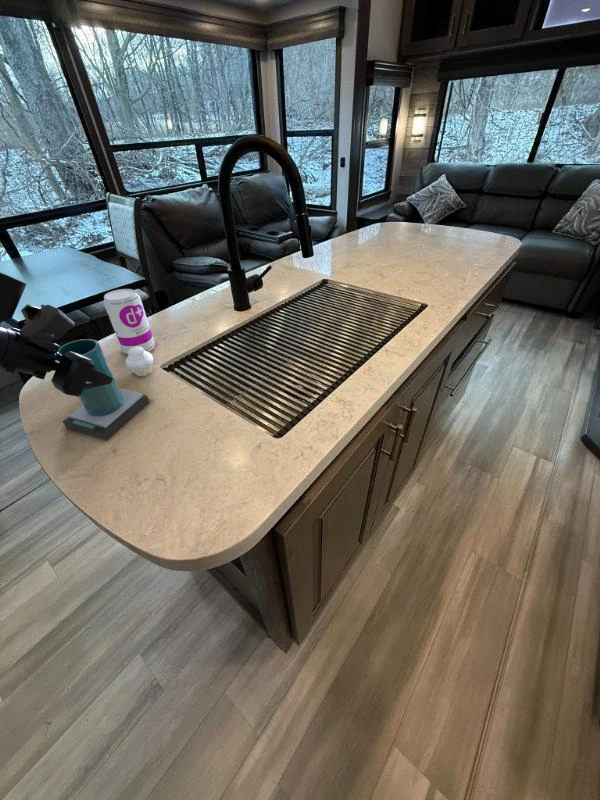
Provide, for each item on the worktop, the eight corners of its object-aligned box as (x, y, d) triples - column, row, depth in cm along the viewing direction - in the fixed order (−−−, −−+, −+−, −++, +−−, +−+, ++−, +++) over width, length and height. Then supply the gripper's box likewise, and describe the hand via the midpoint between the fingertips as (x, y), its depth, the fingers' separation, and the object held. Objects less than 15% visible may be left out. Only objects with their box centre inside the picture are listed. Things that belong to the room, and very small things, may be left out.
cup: (115, 415, 63) (87, 357, 55) (80, 417, 63) (47, 358, 55) (128, 394, 69) (104, 338, 61) (96, 395, 69) (67, 339, 60)
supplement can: (160, 349, 89) (143, 294, 79) (130, 360, 84) (108, 303, 75) (148, 338, 93) (130, 285, 84) (118, 349, 89) (96, 294, 80)
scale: (107, 440, 62) (101, 430, 60) (67, 429, 65) (60, 419, 63) (149, 402, 71) (146, 392, 69) (112, 393, 73) (108, 384, 72)
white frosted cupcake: (143, 382, 77) (134, 356, 72) (124, 376, 79) (113, 350, 74) (163, 369, 81) (154, 343, 76) (144, 363, 83) (135, 338, 79)
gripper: (51, 310, 45) (146, 347, 59) (-7, 284, 53) (88, 322, 67) (18, 386, 45) (121, 405, 59) (-35, 348, 53) (66, 373, 67)
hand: (98, 373), depth 63 cm, fingers open, 8 cm apart
